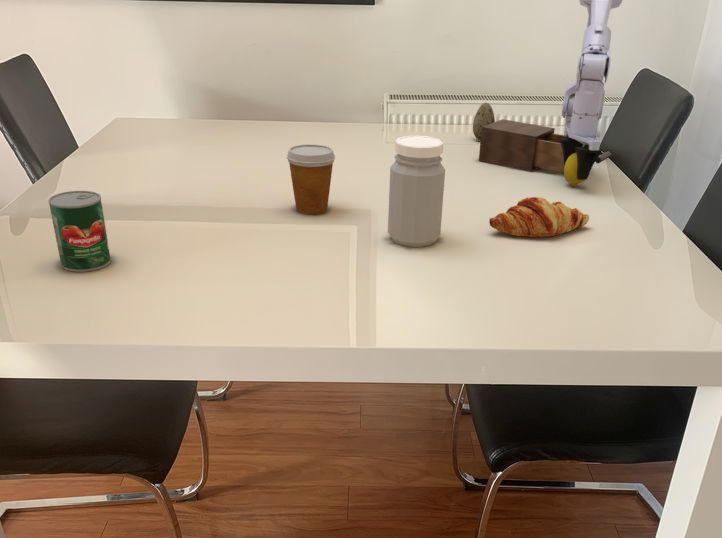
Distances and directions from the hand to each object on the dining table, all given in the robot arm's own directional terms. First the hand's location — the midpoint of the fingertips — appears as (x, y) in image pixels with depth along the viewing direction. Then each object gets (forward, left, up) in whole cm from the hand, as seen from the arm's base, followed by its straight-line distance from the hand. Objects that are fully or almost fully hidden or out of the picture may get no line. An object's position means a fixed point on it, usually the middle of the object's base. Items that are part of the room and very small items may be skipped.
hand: (575, 174), depth 172 cm
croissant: (+33, +6, -3) cm, 34 cm away
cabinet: (-10, -20, -3) cm, 22 cm away
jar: (+52, -11, -3) cm, 53 cm away
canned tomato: (+96, -48, -3) cm, 107 cm away
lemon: (0, 0, -3) cm, 3 cm away
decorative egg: (-24, -36, -3) cm, 44 cm away
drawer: (-10, -6, -2) cm, 12 cm away
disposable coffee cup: (+51, -36, -3) cm, 62 cm away
